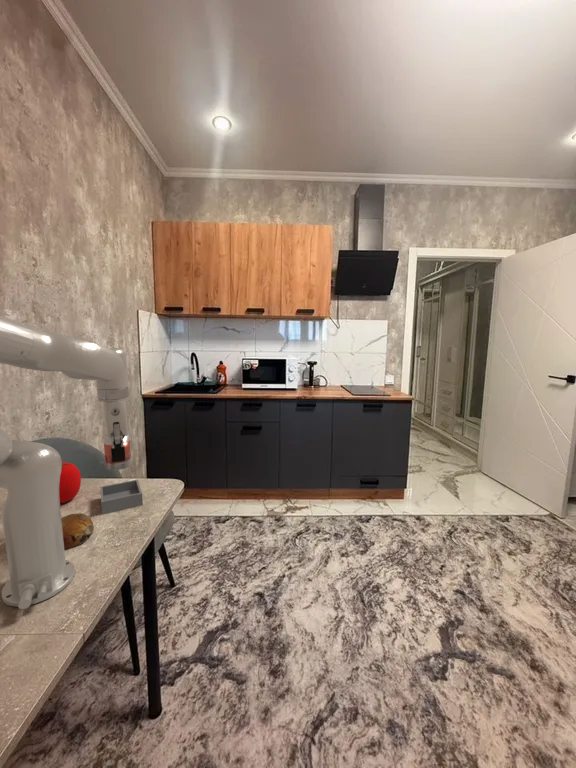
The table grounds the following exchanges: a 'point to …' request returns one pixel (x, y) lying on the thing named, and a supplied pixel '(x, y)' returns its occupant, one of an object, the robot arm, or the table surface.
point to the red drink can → (108, 455)
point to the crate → (120, 496)
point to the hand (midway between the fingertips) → (118, 456)
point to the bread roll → (76, 529)
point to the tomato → (69, 482)
